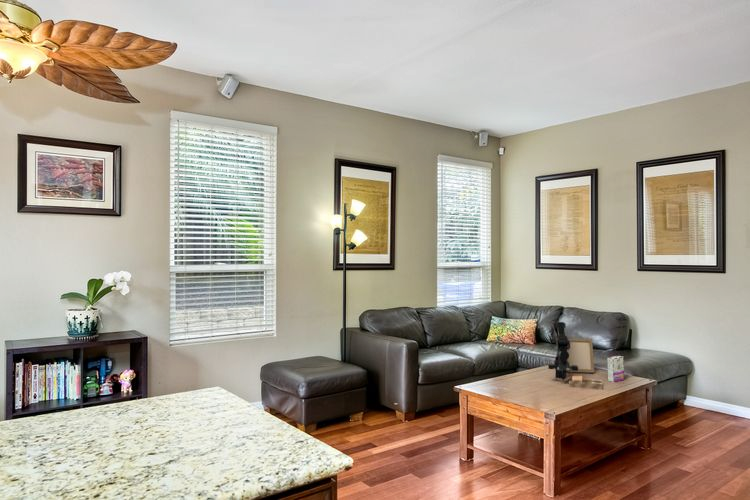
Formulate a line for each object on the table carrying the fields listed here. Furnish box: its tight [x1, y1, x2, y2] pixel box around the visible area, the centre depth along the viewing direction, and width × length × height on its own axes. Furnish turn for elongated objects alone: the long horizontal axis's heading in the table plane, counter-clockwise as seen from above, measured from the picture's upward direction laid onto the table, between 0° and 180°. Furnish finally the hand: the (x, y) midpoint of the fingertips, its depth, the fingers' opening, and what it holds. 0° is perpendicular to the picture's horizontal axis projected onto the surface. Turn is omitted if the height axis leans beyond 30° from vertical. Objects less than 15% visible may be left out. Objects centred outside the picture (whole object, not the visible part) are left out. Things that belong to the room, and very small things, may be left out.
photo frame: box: [567, 337, 595, 374], centre depth 379 cm, size 15×22×25 cm
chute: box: [568, 377, 603, 390], centre depth 334 cm, size 20×10×4 cm, turn 66°
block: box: [572, 374, 583, 382], centre depth 336 cm, size 6×6×5 cm
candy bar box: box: [606, 355, 625, 383], centre depth 349 cm, size 11×5×16 cm, turn 117°
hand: (563, 379), depth 340 cm, fingers closed
